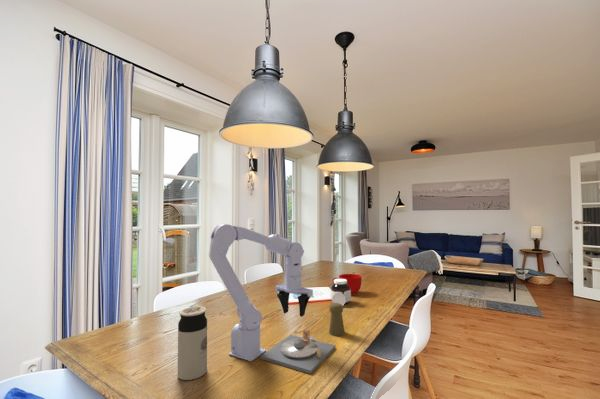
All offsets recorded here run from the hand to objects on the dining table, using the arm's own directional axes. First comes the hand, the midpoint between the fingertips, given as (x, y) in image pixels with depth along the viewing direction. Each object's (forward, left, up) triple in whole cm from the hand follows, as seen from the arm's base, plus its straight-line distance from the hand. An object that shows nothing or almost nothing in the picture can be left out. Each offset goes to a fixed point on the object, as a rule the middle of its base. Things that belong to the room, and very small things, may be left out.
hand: (293, 314), depth 100 cm
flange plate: (+5, -4, -9) cm, 11 cm away
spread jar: (-2, +50, -11) cm, 51 cm away
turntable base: (+5, -5, -10) cm, 13 cm away
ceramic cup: (-6, +70, -11) cm, 71 cm away
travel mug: (-16, -30, -11) cm, 36 cm away
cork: (+10, +16, -11) cm, 21 cm away
